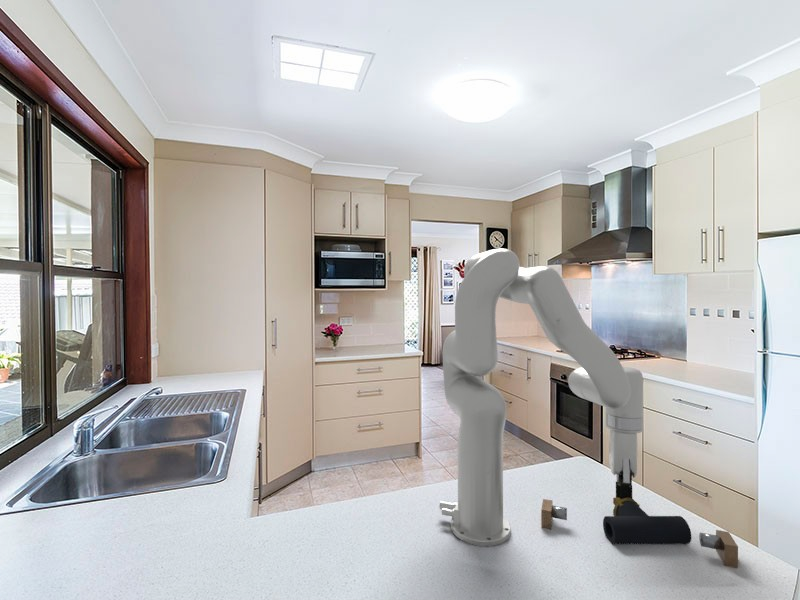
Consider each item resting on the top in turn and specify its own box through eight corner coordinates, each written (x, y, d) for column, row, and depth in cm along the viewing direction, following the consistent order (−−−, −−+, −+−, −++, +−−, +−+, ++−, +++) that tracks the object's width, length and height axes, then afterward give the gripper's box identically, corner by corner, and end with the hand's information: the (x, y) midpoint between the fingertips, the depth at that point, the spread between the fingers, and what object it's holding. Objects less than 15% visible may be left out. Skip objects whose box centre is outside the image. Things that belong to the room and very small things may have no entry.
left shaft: (541, 528, 88) (541, 509, 88) (543, 516, 93) (543, 498, 93) (566, 533, 86) (566, 514, 86) (566, 521, 91) (566, 503, 91)
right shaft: (704, 561, 77) (704, 540, 77) (697, 546, 82) (697, 526, 81) (738, 568, 75) (738, 546, 75) (728, 552, 80) (728, 532, 80)
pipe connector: (588, 494, 93) (655, 494, 93) (588, 517, 93) (655, 517, 93) (615, 524, 81) (691, 524, 81) (615, 550, 81) (691, 550, 81)
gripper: (603, 411, 103) (603, 484, 103) (608, 429, 89) (608, 513, 89) (637, 414, 100) (637, 489, 100) (648, 433, 86) (648, 521, 86)
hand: (623, 500), depth 95 cm, fingers closed
